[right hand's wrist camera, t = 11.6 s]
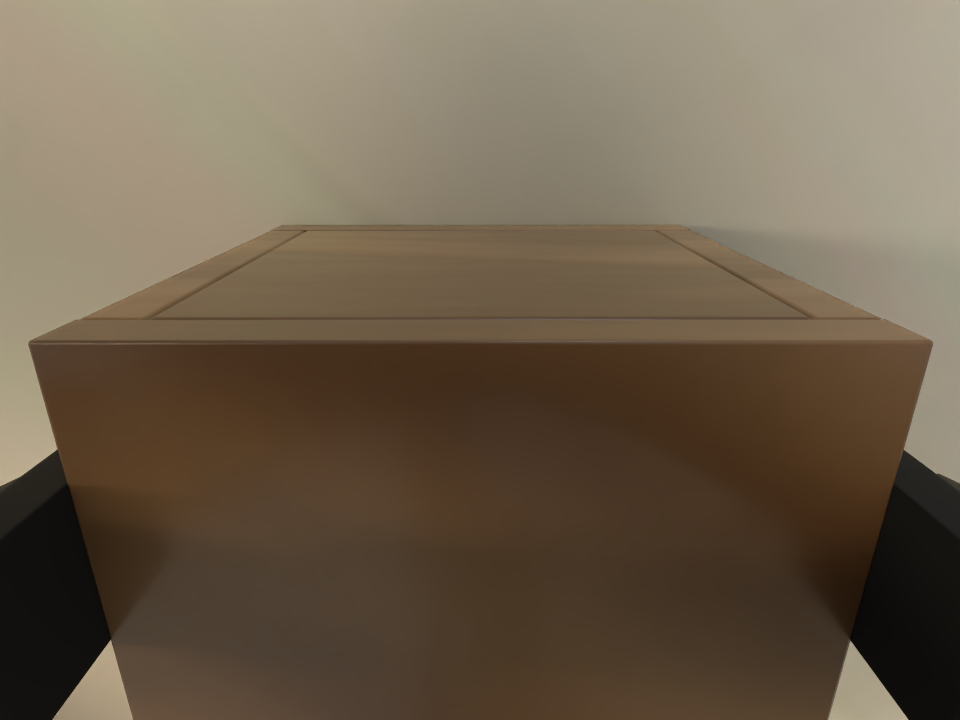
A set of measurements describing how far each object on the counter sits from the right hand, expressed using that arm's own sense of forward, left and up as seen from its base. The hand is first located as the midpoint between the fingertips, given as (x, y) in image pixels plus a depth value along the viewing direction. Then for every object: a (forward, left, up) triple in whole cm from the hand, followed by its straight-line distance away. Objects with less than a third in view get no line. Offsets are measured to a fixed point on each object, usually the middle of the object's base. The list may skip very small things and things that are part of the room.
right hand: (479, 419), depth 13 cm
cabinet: (+1, -6, -5) cm, 8 cm away
